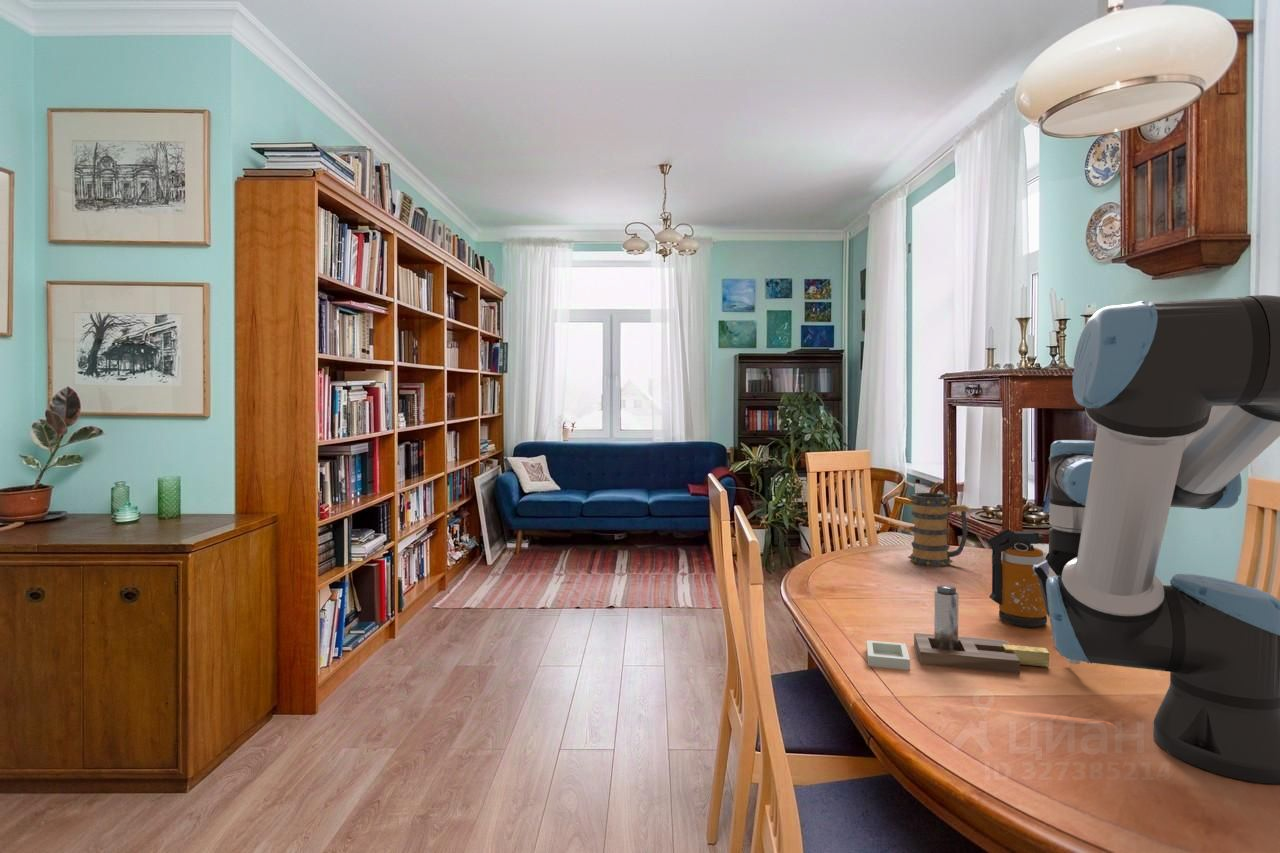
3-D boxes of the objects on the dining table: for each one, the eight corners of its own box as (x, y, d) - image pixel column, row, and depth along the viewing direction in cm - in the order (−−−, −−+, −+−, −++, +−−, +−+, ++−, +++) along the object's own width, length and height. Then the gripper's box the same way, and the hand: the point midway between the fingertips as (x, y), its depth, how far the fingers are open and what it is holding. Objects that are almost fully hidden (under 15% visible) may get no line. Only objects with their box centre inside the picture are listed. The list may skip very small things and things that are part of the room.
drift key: (1049, 666, 117) (1049, 652, 117) (1004, 662, 119) (1005, 649, 119) (1045, 661, 119) (1045, 647, 119) (1001, 657, 121) (1001, 644, 121)
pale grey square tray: (910, 673, 117) (910, 659, 117) (868, 669, 119) (868, 655, 119) (905, 656, 125) (905, 643, 125) (866, 653, 127) (866, 640, 127)
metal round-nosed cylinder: (959, 661, 120) (960, 591, 120) (935, 659, 121) (936, 589, 121) (956, 653, 124) (956, 585, 124) (933, 651, 125) (933, 583, 125)
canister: (1053, 630, 138) (1055, 534, 137) (996, 627, 140) (996, 533, 139) (1037, 616, 147) (1038, 526, 146) (983, 613, 149) (983, 525, 148)
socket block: (1019, 677, 115) (1019, 660, 115) (920, 668, 119) (920, 651, 119) (1005, 656, 124) (1005, 640, 124) (914, 648, 129) (914, 632, 129)
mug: (909, 555, 205) (909, 491, 204) (971, 561, 196) (972, 494, 196) (903, 564, 193) (904, 496, 193) (969, 571, 185) (970, 500, 184)
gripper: (1109, 525, 118) (1107, 656, 119) (1026, 522, 121) (1025, 649, 122) (1126, 534, 110) (1124, 673, 111) (1038, 530, 114) (1036, 665, 115)
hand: (1072, 660), depth 117 cm, fingers closed
